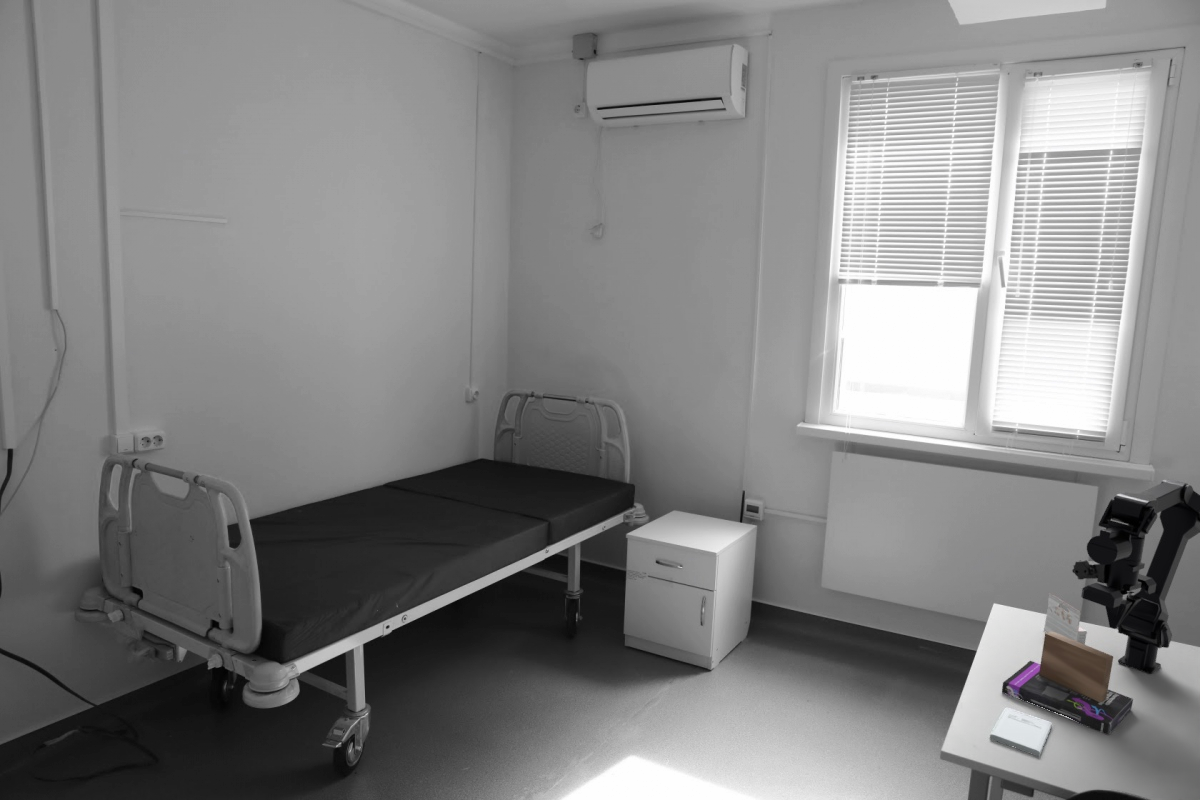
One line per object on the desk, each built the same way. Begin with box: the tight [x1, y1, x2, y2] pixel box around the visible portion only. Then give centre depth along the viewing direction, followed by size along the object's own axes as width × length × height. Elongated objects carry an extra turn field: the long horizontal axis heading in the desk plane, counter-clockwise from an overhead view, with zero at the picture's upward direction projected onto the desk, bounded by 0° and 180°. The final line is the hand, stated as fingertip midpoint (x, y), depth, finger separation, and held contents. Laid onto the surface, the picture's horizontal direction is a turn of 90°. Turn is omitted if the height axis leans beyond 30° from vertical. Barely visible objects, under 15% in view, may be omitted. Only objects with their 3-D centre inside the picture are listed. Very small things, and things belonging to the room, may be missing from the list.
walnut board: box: [1039, 631, 1114, 702], centre depth 163 cm, size 2×12×9 cm, turn 33°
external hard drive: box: [989, 707, 1053, 757], centre depth 151 cm, size 2×8×12 cm
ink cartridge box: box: [1043, 592, 1088, 645], centre depth 190 cm, size 2×11×10 cm, turn 7°
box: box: [1001, 660, 1134, 736], centre depth 163 cm, size 14×4×20 cm
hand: (1113, 627), depth 170 cm, fingers closed
